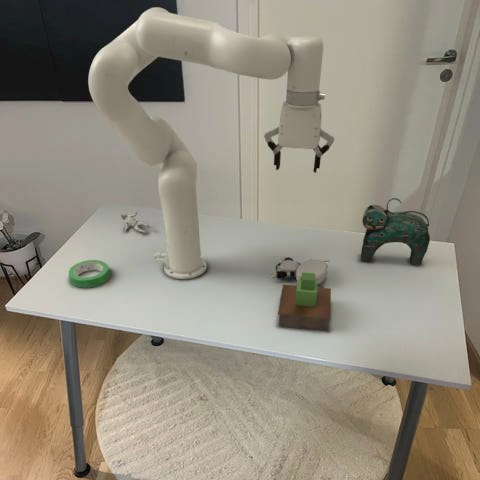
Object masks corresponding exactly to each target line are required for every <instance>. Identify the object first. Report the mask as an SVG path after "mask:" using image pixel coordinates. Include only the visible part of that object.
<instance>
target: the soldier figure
mask: <svg viewBox="0 0 480 480" xmlns="http://www.w3.org/2000/svg"><path fill="white" fill-rule="evenodd" d="M137 215H138V211H135V212H134V213H133V214H128V213H121V214H120V218H121V220H123V221H124V224H125V228H124V232H127V230H128V229H129V226H130V227H132V228H133V229H134V230H135V231H137V232H138V233H143V234H144V235H145V234H146V235H147V234H148V232H147V231H146V230H143V229H142V228H141V226H145V227H147V228H148V229H151V225H150V224H147V223H146V222H144V221H138V220H137V219H136V218H135V217H136V216H137Z"/></svg>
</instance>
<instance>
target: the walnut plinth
mask: <svg viewBox="0 0 480 480" xmlns="http://www.w3.org/2000/svg"><path fill="white" fill-rule="evenodd" d="M296 292H297V284H296V285H294V284H282V287H281V293H280V300H279V306H278V313H277V314H278V316H279V317H278V327H281V328H291V329H301V330H313V331H320V332H321V331H323V332H328V328H329V322H330V321H329V320H331V317H332V316H331V315H332V314H331V313H332V309H331V308H332V307H331V305H332V303H331V302H332V301H331V299H332V288H331V287H330V288H329V287H318V288H317V299H316V307H310V306H299V305H295V303H296Z"/></svg>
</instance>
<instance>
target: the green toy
mask: <svg viewBox="0 0 480 480" xmlns="http://www.w3.org/2000/svg"><path fill="white" fill-rule="evenodd" d="M296 283H297V284H296V286H297V292H296V303H295V305H299V306H310V307H316V299H317V288H318V285H319V284H318V281H315V273H303V272H302V279H301V280H298V281H297V282H296Z"/></svg>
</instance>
